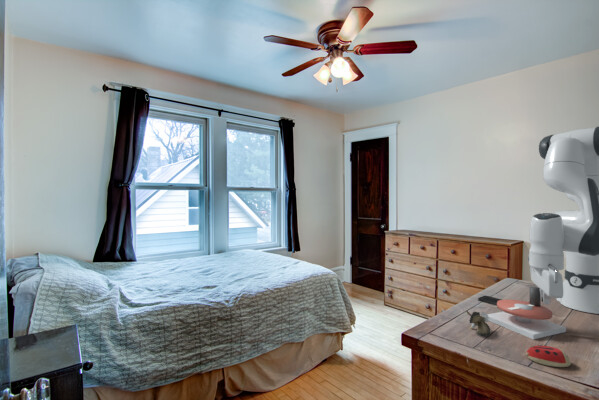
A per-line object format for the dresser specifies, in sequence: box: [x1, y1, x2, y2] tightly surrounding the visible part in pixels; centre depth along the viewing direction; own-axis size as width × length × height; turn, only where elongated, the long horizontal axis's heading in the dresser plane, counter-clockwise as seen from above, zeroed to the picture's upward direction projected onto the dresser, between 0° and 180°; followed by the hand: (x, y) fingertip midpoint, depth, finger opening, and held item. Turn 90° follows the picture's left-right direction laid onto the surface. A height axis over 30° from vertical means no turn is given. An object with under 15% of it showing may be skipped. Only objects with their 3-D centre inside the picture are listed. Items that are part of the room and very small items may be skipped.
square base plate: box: [486, 311, 567, 340], centre depth 99 cm, size 16×16×4 cm
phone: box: [477, 295, 503, 307], centre depth 119 cm, size 8×1×15 cm
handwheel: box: [496, 286, 553, 321], centre depth 99 cm, size 15×15×7 cm
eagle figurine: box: [465, 309, 492, 338], centre depth 95 cm, size 8×7×9 cm
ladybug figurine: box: [525, 344, 572, 368], centre depth 77 cm, size 7×10×4 cm
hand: (545, 303), depth 96 cm, fingers closed
